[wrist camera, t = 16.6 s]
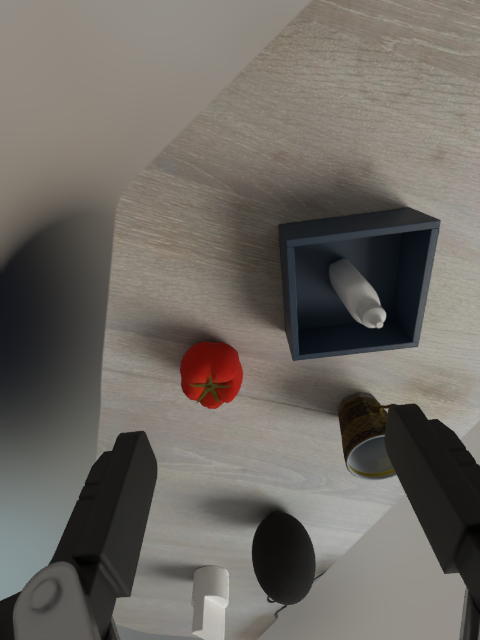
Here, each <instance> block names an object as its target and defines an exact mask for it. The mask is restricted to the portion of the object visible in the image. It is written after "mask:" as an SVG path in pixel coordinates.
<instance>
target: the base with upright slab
mask: <svg viewBox="0 0 480 640" xmlns="http://www.w3.org/2000/svg"><path fill="white" fill-rule="evenodd" d="M228 603H229V573H228V571H227V570H226V569H224V568H221V567H217V566H205V567H201V568H199V569H197V570H196V571H195V573H194V581H193V592H192V606H193V607H194V611H193V623H192V634H194V635H196V636H198V637H200V638H202V639H204V640H224V635H225V608H226V607H227V606H228Z"/></svg>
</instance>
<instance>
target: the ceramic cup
mask: <svg viewBox="0 0 480 640" xmlns="http://www.w3.org/2000/svg"><path fill="white" fill-rule="evenodd" d="M395 405H396V404H390V405H387V406H384V405H380V403H379V402H378V401H377V400H376V398H375V397H374V396H373V395H371V394H365V393H356V394H354V395H352V396H350V397H348V398H346V399H344V400H343V402H342V404H341V406H340V408H339V410H338V417H339V423H340V430H341V435H342V446H343V453H344V458H345V463H346V467H347V469H348V470H349V472H350V473H351V474H353V475H354V476H356V477H358V478H361V479H365V480H382V479H387V478H390V477H393V476H396V475H397V474H396V472H395V470H394V468H393V466H392V464H391V462H390V460H389V457H388V455H387V452H386V448H385V442H384V437H385V429H386V422H387V415H388V413H387V412H386V410H385V409H384V408H386V409H387V408H389V407H390V406H395Z"/></svg>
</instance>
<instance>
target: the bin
mask: <svg viewBox="0 0 480 640" xmlns="http://www.w3.org/2000/svg"><path fill="white" fill-rule="evenodd" d="M440 221H441V220H439V219H436V218H434V217H431V216H429V215H427V214H424V213H422V212H419V211H417V210H414V209H412V208H409V207H407V208H400V209H392V210H385V211H377V212H370V213H362V214H355V215H347V216H340V217H332V218H325V219H317V220H310V221H302V222H295V223H287V224H279V225H278V228H279V243H280V258H281V272H282V287H283V302H284V317H285V332H286V336H287V340H288V344H289V347H290V351H291V355H292V359H293V361H296V360H305V359H313V358H322V357H331V356H340V355H349V354H358V353H367V352H376V351H385V350H394V349H403V348H412V347H418V344H419V339H420V333H421V328H422V322H423V317H424V311H425V306H426V300H427V295H428V289H429V283H430V278H431V272H432V267H433V261H434V256H435V250H436V245H437V239H438V234H439V227H440ZM343 258H344V259H347V260H348V261H349V262H350V263H351V264H352V265H353V266H354V267H355V268H356V269H357V270H358V272H359V273H360V274H361V275H362V276H363V277H364V278H365V279H366V280H367V281H368V283H369V284H370V285H371V286H372V287H373V289H374V290H375V291H376V293H377V295H378V297H379V301H380V306H381V307H382V308H383V309H384V310H385V312H386V319H385V321H384V322H383V327H381V328H377V327H375V328H368V327H366V326H365V325H363V324H361V323H359V322H357V321H356V320H355V319H354V318H353V317H352V316H351V314H350V313H349V311H348V310H347V308H346V307H345V305H344V304H343V302H342V301H341V299H340V298H339V296H338V294H337V293H336V291H335V290H334V288H333V286H332V284H331V282H330V278H329V266H330V265H331V264H332V263H334V262H336V261H338V260H340V259H343Z"/></svg>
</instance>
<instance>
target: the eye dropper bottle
mask: <svg viewBox="0 0 480 640" xmlns="http://www.w3.org/2000/svg"><path fill="white" fill-rule="evenodd" d="M329 278H330V282H331V284H332V286H333V288H334V290H335V291H336V293H337V294H338V296H339V298H340V299H341V301H342V302H343V304H344V305H345V307H346V308H347V310H348V311H349V313H350V314H351V316H352V317H353V318H354V319H355V320H356V321H357V322H359V323H361V324H363V325H365V326H366V327H368V328H375V327H377V328H381V327H383V322H384V321H385V319H386V312H385V310H384V309H383V308H382V307H381V306H380V301H379V297H378V295H377V293H376V291H375V290H374V289H373V287H372V286H371V285H370V284H369V283H368V281H367V280H366V279H365V278H364V277H363V276H362V275H361V274H360V273H359V272H358V270H357V269H356V268H355V267H354V266H353V265H352V264H351V263H350V262H349V261H348V260H347V259H344V258H343V259H340V260H338V261H336V262H334V263H332V264H331V265H330V266H329Z"/></svg>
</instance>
